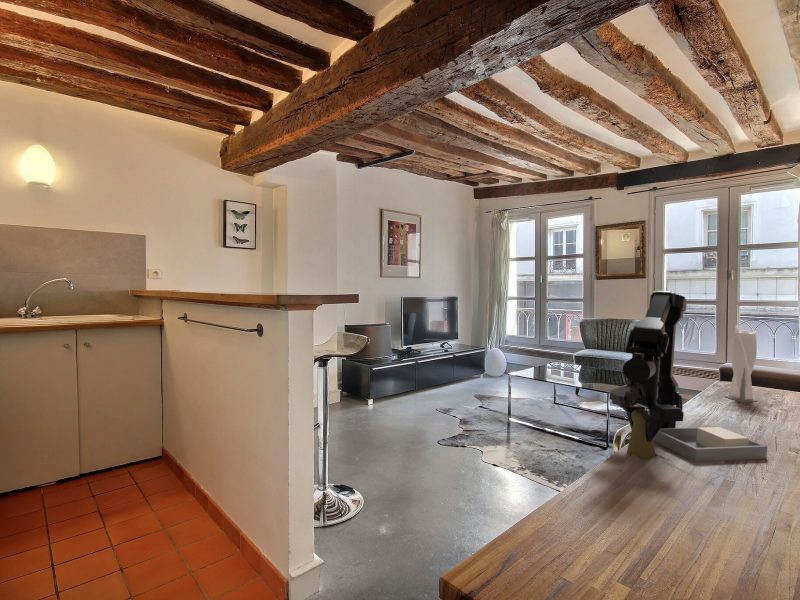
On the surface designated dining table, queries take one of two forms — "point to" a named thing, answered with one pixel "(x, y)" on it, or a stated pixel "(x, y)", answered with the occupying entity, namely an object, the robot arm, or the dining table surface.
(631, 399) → the robot arm
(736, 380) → the skyscraper
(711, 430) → the cream beveled block
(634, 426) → the olive tall rounded piece
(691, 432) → the tray
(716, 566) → the dining table surface
